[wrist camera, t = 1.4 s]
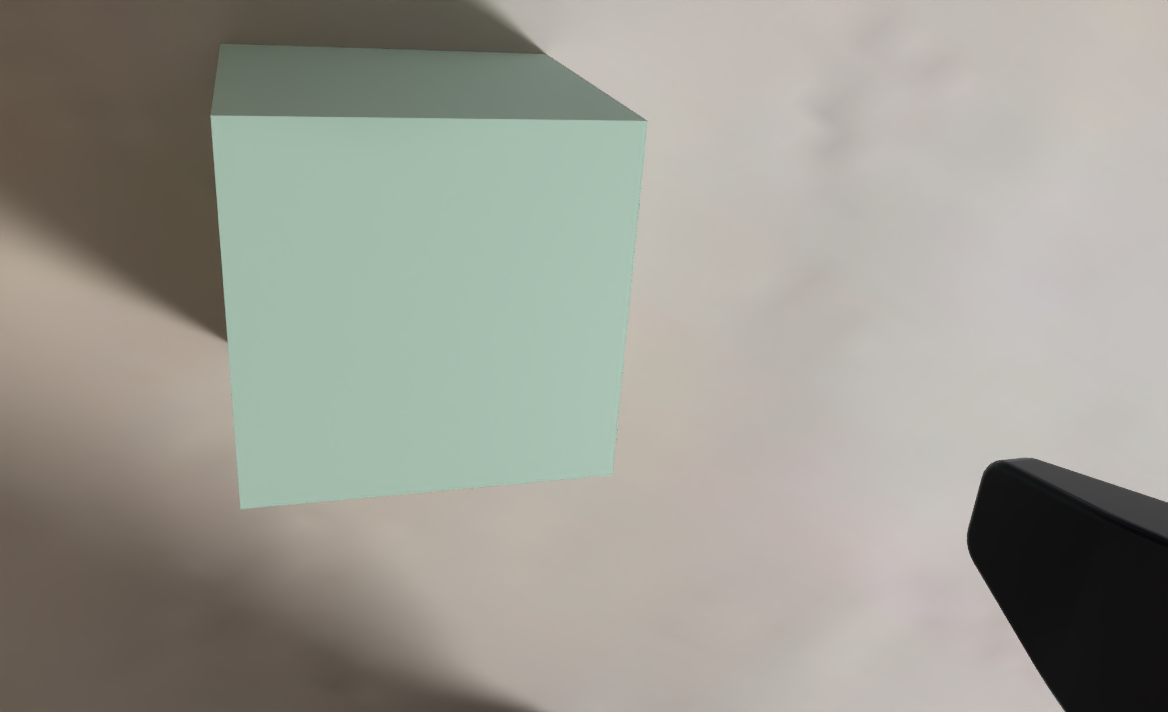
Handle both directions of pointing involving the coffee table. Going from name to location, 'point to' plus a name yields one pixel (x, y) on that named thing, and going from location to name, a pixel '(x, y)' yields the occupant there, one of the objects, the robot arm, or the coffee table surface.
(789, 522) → the coffee table surface
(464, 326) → the sage block
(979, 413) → the coffee table surface
